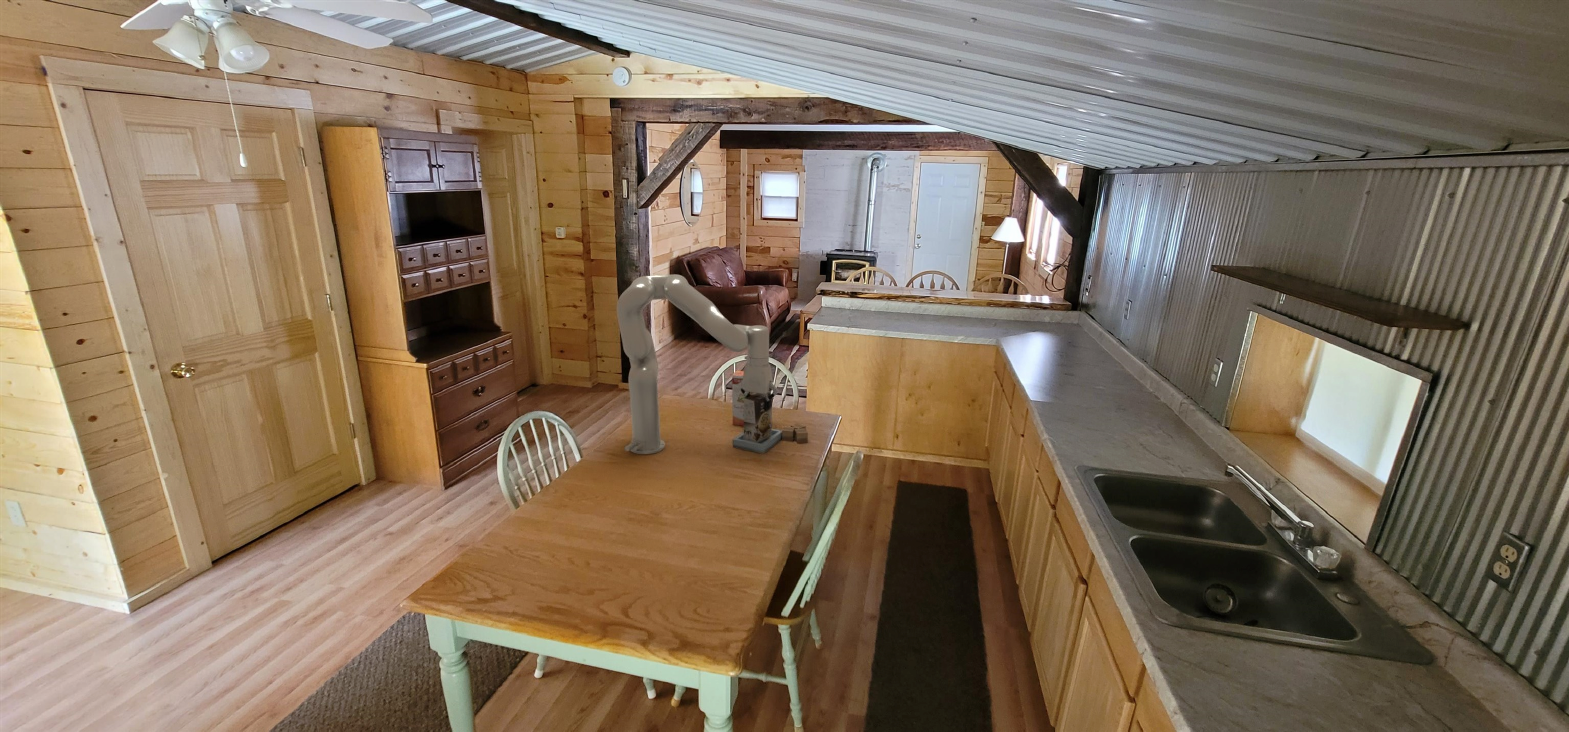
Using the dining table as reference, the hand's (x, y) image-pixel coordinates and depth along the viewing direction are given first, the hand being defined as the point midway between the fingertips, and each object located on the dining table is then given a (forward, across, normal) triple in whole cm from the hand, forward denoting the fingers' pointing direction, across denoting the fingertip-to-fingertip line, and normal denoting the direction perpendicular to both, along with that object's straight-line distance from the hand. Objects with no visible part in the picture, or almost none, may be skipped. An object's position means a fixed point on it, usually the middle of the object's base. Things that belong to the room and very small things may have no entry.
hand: (757, 407), depth 232 cm
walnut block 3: (+14, +13, +9) cm, 21 cm away
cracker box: (+14, -11, +15) cm, 23 cm away
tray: (+14, 0, 0) cm, 14 cm away
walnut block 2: (+14, +10, +13) cm, 22 cm away
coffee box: (+12, 0, 0) cm, 12 cm away
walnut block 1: (+14, +8, +9) cm, 18 cm away
